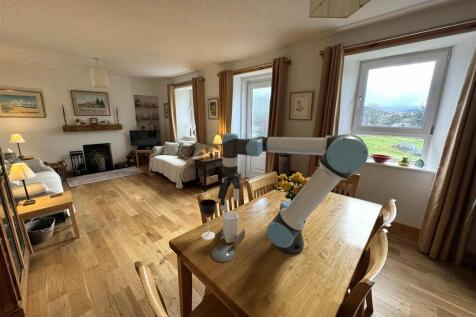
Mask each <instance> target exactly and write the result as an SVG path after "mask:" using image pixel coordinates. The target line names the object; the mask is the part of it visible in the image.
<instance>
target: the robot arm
mask: <svg viewBox="0 0 476 317" xmlns="http://www.w3.org/2000/svg"><path fill="white" fill-rule="evenodd" d="M221 139H222V141H221V145H222V146H221V147H222V155H221V156H222V157H221V159H222V174H223V175H224V177H221V178H220V186H219V189H218V194H217V199H218V200H220V211H223V212H224V213H225V212H227V198H226V197H227V194H228V192H229V191H228V190H229V188H230V187H231V185H232V186H233V197H232V198H233V201H239V192H240V191H239V189H240V190H241V186H242V185H241V181H240V178H239V171H238V167H239V166H238V164H239V162H238V161H239V160H238V158H239V155H241V156H247V157H259V156H261V154H262V153H278V154H280V153H281V154H295V155H296V154H298V155H311V156H312V155H313V156H321V157H320V159H319V160H318V163H319V167H317V169H316V170H315V172H313V174H312V175H311V177H310V178H309V179H308V180H307V182H306V183H305V184H304V185H303V187H302V188H301V189H300V190H299V191H298V193H297V194H296V196H295V197H294V198H293V199H292V201H290V200H284V201H282V202H280V205H279V211H278V212H277V213H276V215H275V216H274V217H273V219H272V220H271V222H269V224H268V225H267V227H266V234H267V238H268V239H269V240H270V242H271V243H272V244H273V245H274V246H275V248H277V250H279V251H281V252H282V253H285V254H288V255H297V254H300V253H301V252H303V251H304V249H305V243H304V238H303V234H302V231H303V229H304V228H305V221H306V220H307V219H308V217H309V216H310V215H311V214H312V213H313V212H314V211H315V209H316V208H317V207H318V206H319V205H320V204H321V203H322V202H323V201H324V199H325V198H326V197H328V195H329V194H330V193H331V192H332V191H333V189H334V188H335V187H336V186H337V185H338V183H340V181H347V180H348V179H349V178H351V176H352V175H353V174H354V173H355V172H357V171H359V170H360V169H362V168H363V167H364V165H365V164H366V162H367V161H368V159H369V158H368V157H369V149H368V147H367V144H366V143H365V142H364V140H363V139H362V138H361V137H359V136H358V135H355V134H352V133H346V134H344V133H343V134H337V135H326V136H325V137H295V136H294V137H291V136H290V137H288V136H286V137H285V136H284V137H283V136H281V137H279V136H263V135H262V136H258V137H253V138H239V135H238V134H237V133H224V134H223V135H222V138H221Z"/></svg>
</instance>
